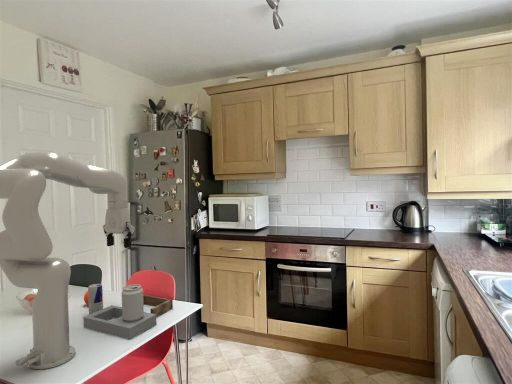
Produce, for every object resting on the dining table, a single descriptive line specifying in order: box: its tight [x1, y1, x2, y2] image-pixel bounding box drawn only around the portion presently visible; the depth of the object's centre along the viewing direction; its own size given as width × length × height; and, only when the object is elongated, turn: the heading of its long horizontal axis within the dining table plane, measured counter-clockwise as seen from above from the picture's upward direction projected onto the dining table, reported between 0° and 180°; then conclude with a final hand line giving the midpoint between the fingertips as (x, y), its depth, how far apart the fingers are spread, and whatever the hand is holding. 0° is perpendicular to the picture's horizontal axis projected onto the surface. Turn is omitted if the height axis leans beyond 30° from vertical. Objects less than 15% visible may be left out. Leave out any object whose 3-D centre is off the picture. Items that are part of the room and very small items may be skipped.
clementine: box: [83, 290, 89, 306], centre depth 148 cm, size 8×7×7 cm
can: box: [121, 283, 145, 322], centre depth 122 cm, size 8×8×12 cm
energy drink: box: [87, 283, 104, 315], centre depth 137 cm, size 5×5×12 cm
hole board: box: [82, 305, 158, 340], centre depth 125 cm, size 13×24×4 cm, turn 65°
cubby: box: [143, 294, 174, 318], centre depth 140 cm, size 12×16×4 cm
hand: (118, 246), depth 136 cm, fingers open, 9 cm apart
